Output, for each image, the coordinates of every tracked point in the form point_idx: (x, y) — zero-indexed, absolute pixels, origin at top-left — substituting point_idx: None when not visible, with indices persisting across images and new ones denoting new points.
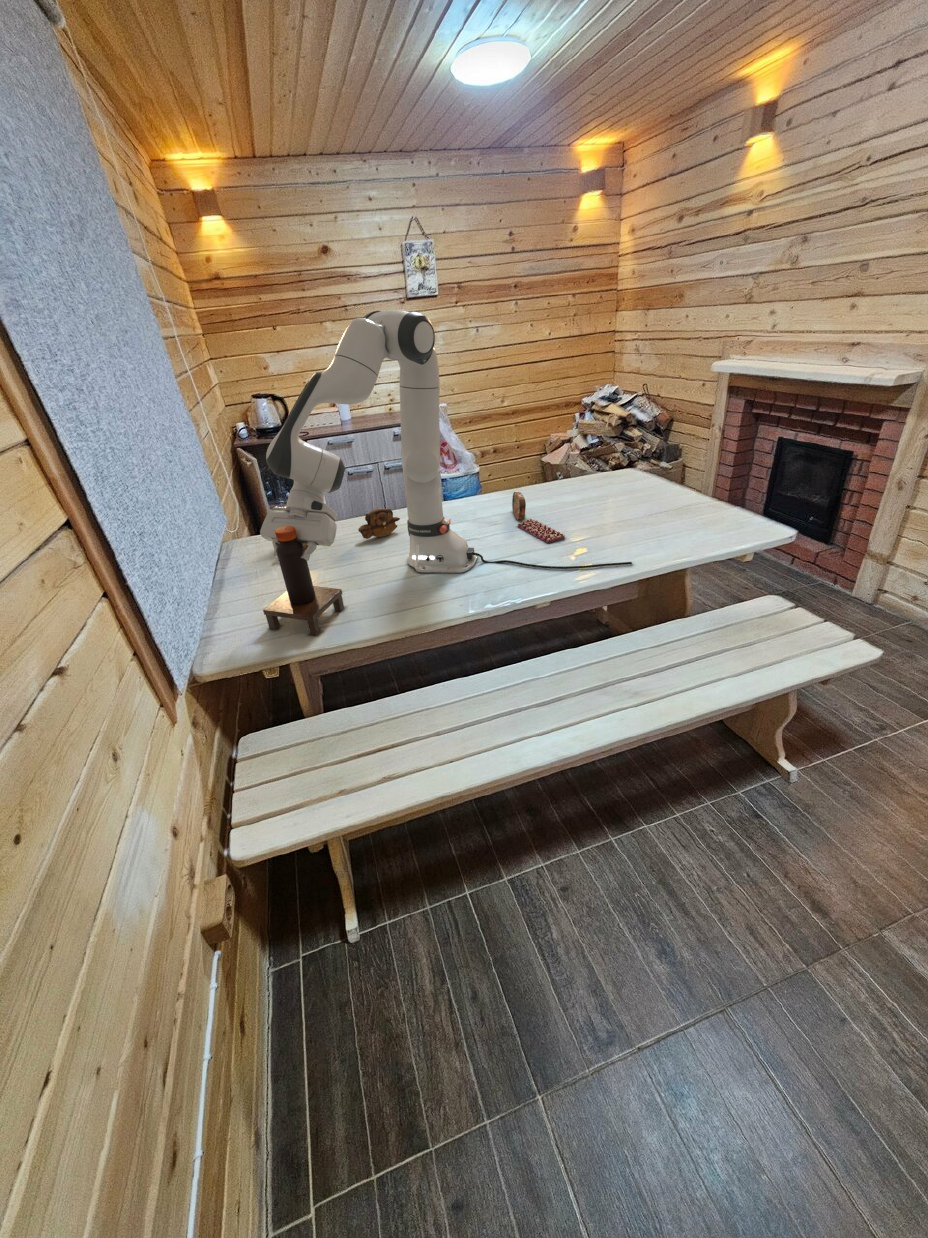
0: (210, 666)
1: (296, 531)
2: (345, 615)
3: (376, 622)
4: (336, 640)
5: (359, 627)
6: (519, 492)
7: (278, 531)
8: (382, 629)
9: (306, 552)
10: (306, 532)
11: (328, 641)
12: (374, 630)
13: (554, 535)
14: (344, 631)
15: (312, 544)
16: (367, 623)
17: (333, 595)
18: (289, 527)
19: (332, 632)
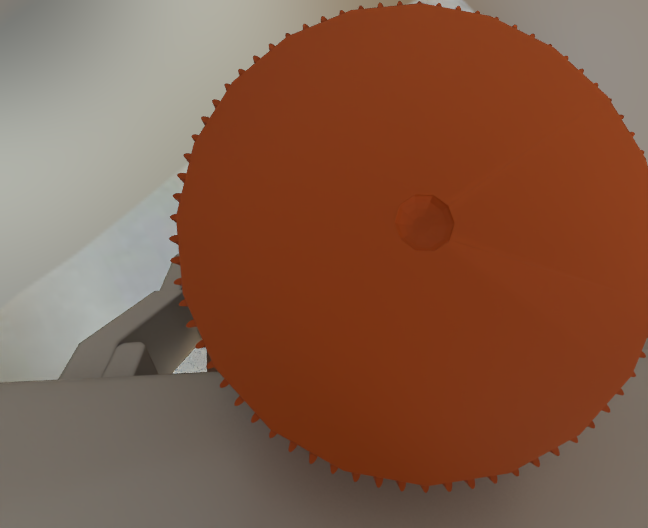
0: (442, 4)
1: (327, 478)
2: (201, 360)
3: (64, 347)
4: (150, 210)
5: (111, 301)
6: None
7: (501, 82)
8: (24, 311)
9: (162, 286)
10: (97, 490)
11: (174, 198)
12: (49, 298)
13: None
14: (151, 264)
15: (74, 367)
16: (94, 332)
17: (213, 369)
18: (395, 375)
19: None
